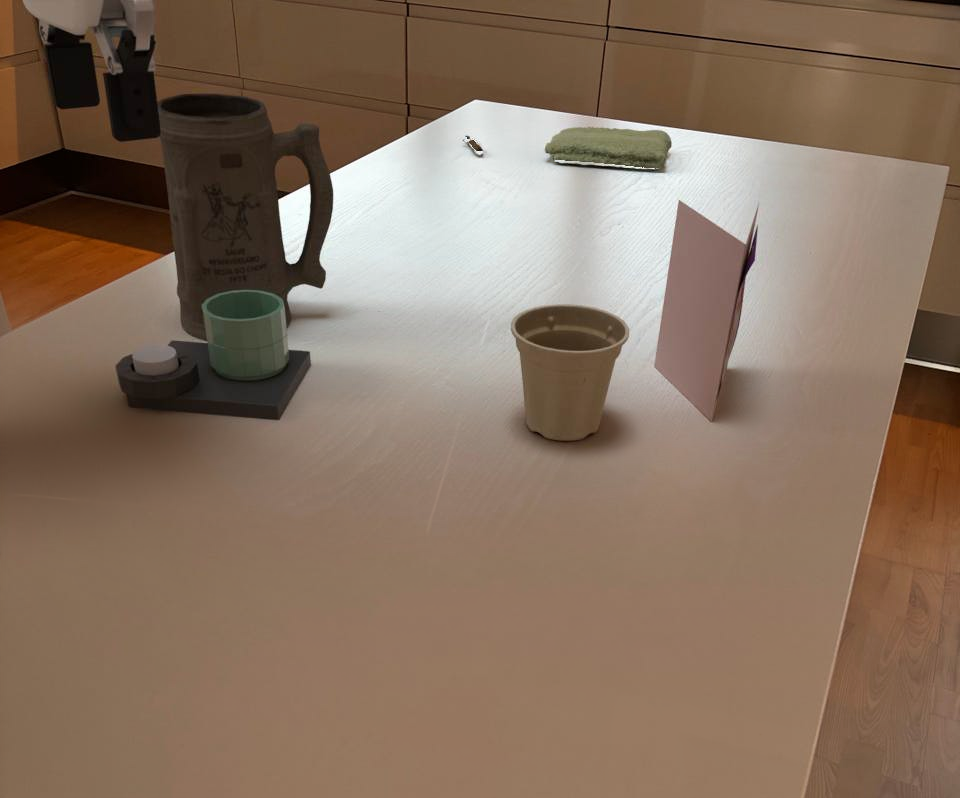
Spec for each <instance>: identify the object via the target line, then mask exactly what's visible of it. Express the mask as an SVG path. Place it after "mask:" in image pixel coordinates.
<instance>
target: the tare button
mask: <svg viewBox="0 0 960 798" xmlns="http://www.w3.org/2000/svg"><path fill="white" fill-rule="evenodd" d="M131 354H132V357H133V362H134V368H135V371H136V373H139V374H141V375H151V376H155V375H162V374H168V373H170V372H173V371H175V370H177V369H178V368H179V364H178V358H177V352H176V350H175V349H174V348H172V347H170V346H167V344H150V345H149V344H148V345H145V346H142V347H139V348H136V350H134V351H133V352H132V353H131Z"/></svg>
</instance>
